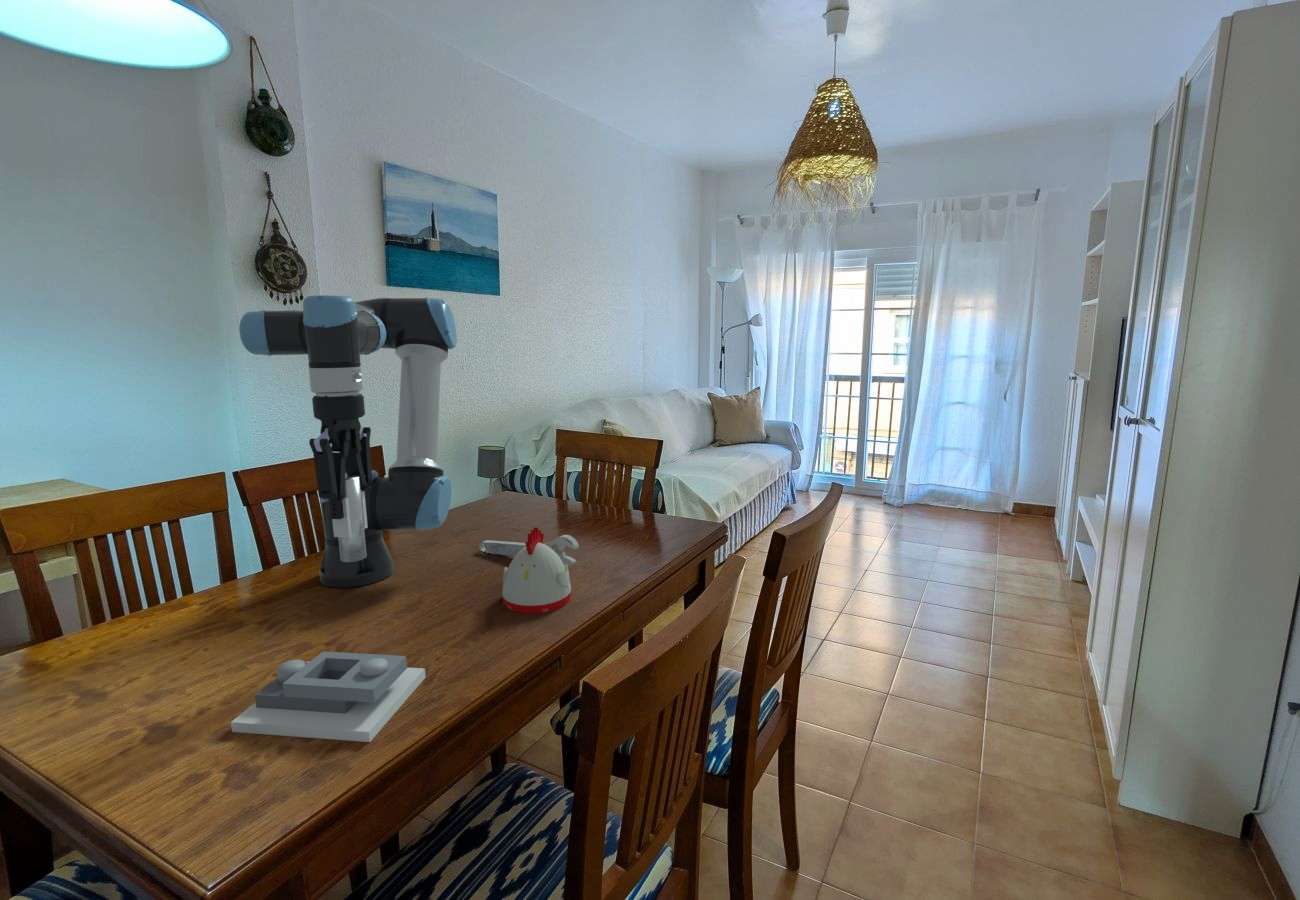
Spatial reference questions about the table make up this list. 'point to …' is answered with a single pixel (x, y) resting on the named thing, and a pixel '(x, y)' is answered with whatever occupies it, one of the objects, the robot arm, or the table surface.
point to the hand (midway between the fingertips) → (351, 531)
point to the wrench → (515, 547)
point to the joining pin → (353, 523)
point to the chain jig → (331, 697)
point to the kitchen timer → (536, 578)
